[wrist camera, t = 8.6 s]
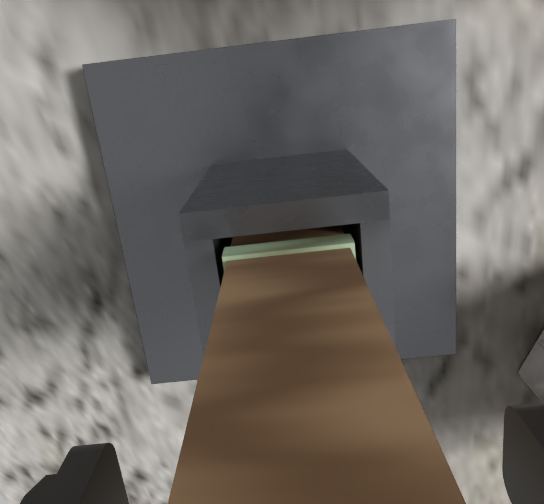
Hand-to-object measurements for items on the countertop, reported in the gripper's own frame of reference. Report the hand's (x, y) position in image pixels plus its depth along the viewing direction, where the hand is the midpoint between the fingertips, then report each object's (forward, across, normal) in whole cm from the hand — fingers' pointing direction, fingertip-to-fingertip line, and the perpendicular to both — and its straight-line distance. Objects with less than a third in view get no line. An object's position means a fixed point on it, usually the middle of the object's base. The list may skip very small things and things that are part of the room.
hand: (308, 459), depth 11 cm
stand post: (+12, 0, 0) cm, 12 cm away
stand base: (+20, 0, 0) cm, 20 cm away
